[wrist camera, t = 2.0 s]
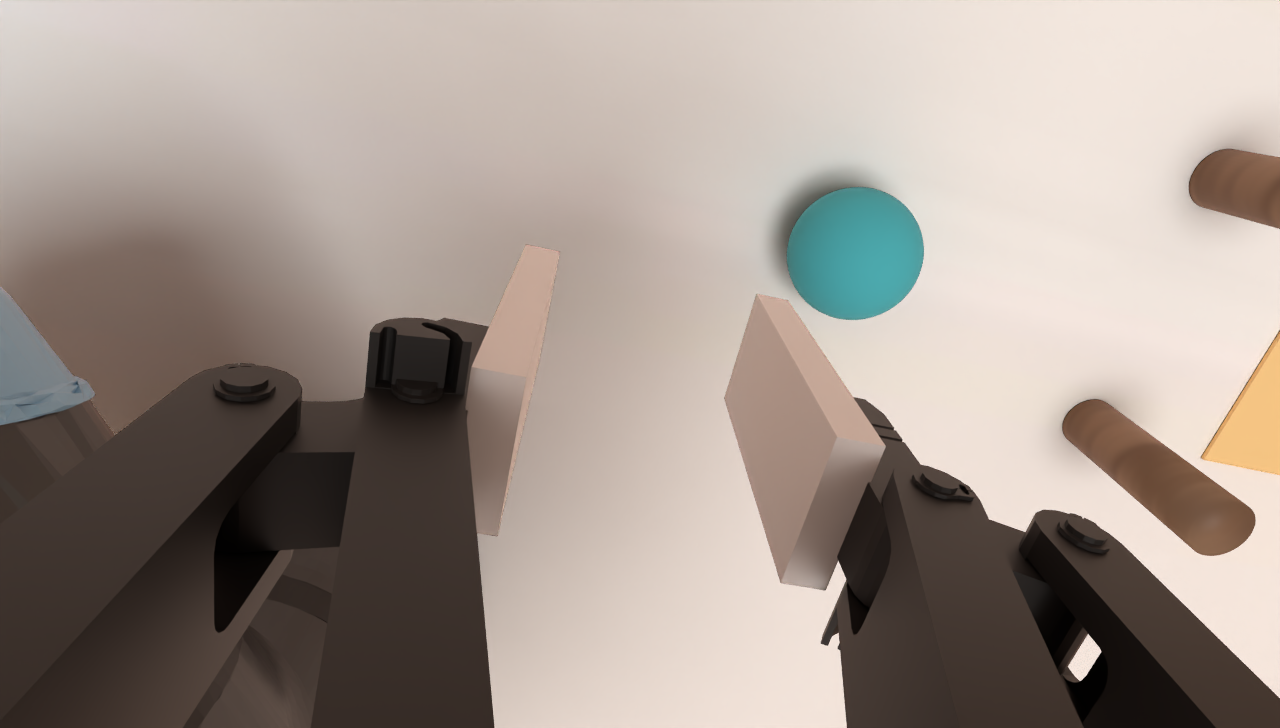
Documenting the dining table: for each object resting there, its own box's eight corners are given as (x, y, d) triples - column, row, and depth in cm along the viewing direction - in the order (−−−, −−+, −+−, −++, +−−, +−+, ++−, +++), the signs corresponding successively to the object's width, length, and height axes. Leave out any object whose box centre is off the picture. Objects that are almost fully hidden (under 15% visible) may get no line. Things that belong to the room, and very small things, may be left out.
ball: (871, 306, 34) (914, 351, 29) (760, 282, 34) (785, 324, 29) (914, 191, 32) (969, 219, 27) (796, 164, 32) (830, 186, 27)
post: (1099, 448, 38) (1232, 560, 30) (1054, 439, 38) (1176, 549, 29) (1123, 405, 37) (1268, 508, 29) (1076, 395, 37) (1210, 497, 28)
